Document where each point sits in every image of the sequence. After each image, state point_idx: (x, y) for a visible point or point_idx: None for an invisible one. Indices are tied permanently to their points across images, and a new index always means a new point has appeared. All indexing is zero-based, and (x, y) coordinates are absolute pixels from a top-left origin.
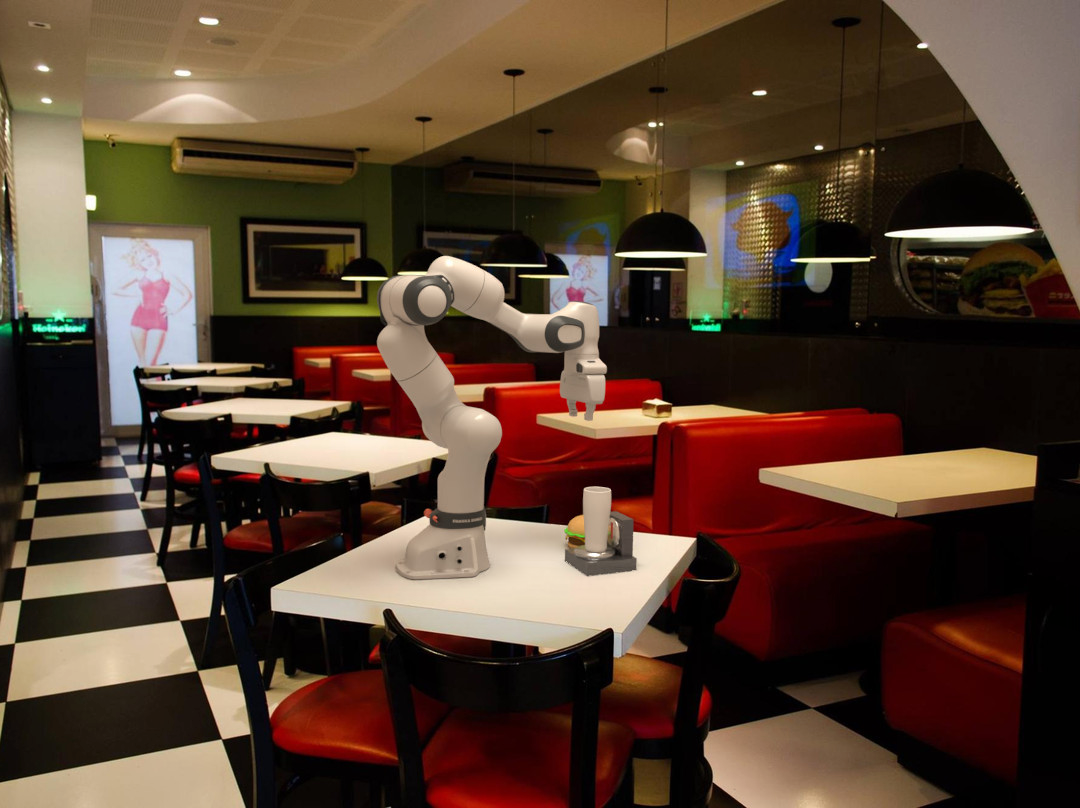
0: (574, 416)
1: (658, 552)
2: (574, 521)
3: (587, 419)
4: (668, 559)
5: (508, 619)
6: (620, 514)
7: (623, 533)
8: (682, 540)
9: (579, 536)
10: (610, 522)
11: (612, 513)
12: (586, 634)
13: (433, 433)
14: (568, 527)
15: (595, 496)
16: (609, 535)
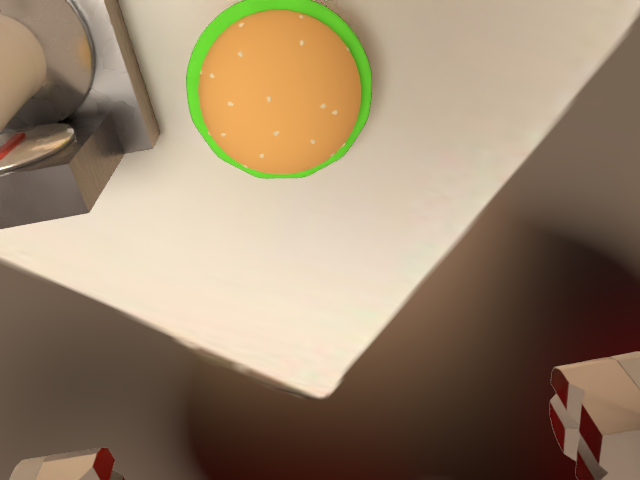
0: (556, 395)
1: (195, 278)
2: (260, 42)
3: (21, 475)
4: (118, 284)
5: None
6: (24, 214)
7: None
8: (313, 367)
9: (199, 40)
10: (12, 156)
11: (43, 186)
12: None
13: None
14: (277, 13)
15: None
16: (40, 135)
